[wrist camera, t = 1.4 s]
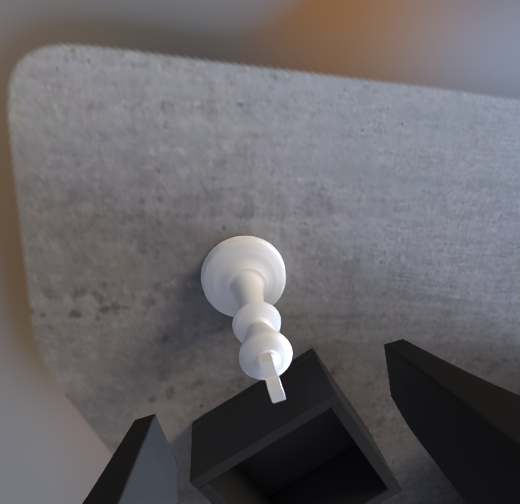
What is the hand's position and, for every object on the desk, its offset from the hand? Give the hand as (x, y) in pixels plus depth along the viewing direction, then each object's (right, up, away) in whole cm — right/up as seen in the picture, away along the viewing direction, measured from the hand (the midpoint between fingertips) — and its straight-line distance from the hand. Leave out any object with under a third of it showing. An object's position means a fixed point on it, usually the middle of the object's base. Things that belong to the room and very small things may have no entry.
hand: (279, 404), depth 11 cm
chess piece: (-2, +3, +10) cm, 11 cm away
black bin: (+1, -8, +14) cm, 16 cm away
